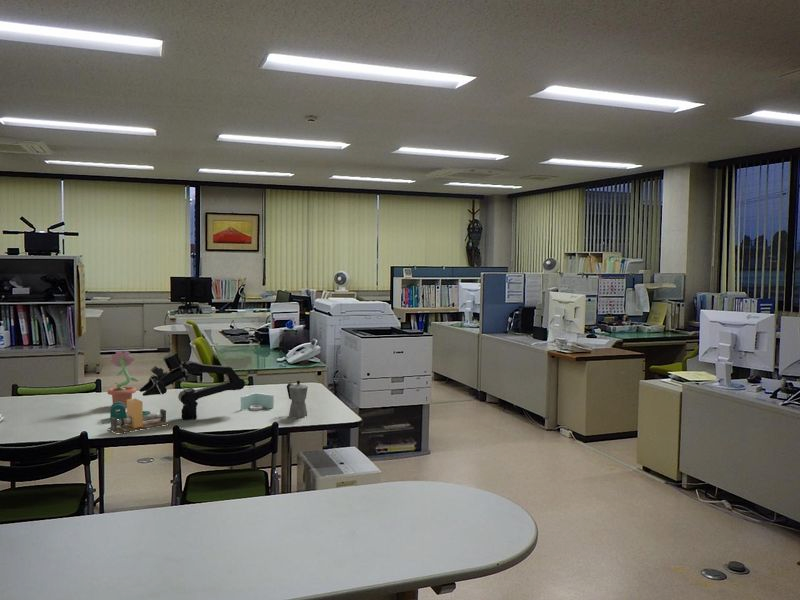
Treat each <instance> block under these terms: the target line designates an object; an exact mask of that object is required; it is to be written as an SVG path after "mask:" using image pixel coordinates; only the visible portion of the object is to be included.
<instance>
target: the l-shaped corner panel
mask: <svg viewBox="0 0 800 600" xmlns="http://www.w3.org/2000/svg"><path fill="white" fill-rule="evenodd" d="M274 397H275V395H273V394H268V393H261V392H253V393H249V394H247V395H243V396H241V397H240V411H244V410H247V409H249V410H250V411H254V412H255V411H262V410H263V408H267V409H274V405H275V399H274Z"/></svg>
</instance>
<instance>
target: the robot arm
mask: <svg viewBox="0 0 800 600" xmlns="http://www.w3.org/2000/svg"><path fill="white" fill-rule="evenodd" d="M162 359H163V361H164V363H165V365H166V367H167V369H168V370H169V369H170V371H165V370H164V369H163V368H162V367H160V368H159V367H157V365H154V366H153V367H152V368H151V369H150V372H152V373H153V374H152V375H150V376H149V378H148V381H147V382H146V383H145V384H144V385H143V386H142V387H141V388H140V389H138V391H139V392H140V393H142V396H143V397H146V396H156V395H164V394H166V393H167V390H168V389H167V388H166V387H169V386H170V385H172V386H173V385H174V384H175V383H176V382H178V381H181V380H182V379H184V381H186V382H188V380H189V377H190V375H197V374H202V373H203V374H204V373H205V374H206V373H207V374H221V375H226V377H227V378H228V379H227V380H225V381H224V382H221V383H218V384H213V385H210V386H207V387H202V388H199V389H194V387H189V388H183V390H182V391H180V392H179V393H178V396H177V399H178V400H179V401H180V402H181V403H182V404H183V405H182V408H181V419H183V420H182V421H186V420H188V421H189V420H197V418H198V414H197V413H198V412H197V411H198V409H197V406H198V402H197V400H198V401H199V399H201V398H205V397H209V396H212V395H215V394H219V393H223V392H226V391H240V390H242V389H244V388H245V385H246V381H245V380H244V379H243V378H242V377H240V376H238V374H237V373H236V372H235V371H234V369H233V367H231V366H229V365H226V366H225V365H216V364H204V363H200V362H197V361H194V360H193V361H192V360H188V361H181V359H180V357H179V354H178V352H174V353H170V354H166V355H165V356H164V357H163V358H162ZM182 368H183V369H182ZM164 371H165V372H164ZM187 373H188V374H187Z"/></svg>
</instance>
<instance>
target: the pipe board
mask: <svg viewBox="0 0 800 600" xmlns="http://www.w3.org/2000/svg"><path fill="white" fill-rule="evenodd" d="M131 423H132V417H130V418H124V419H123V418H121V419H119V420H117V419H116V418H114V417H112V418H111V421H110V427H108V429H110V430H111V431H113V432H115V433H124V432H129V433H131V432H130V431H135V430H140V429H145V430H148V429H147V428H151V429H153V428H152V427H156V426H161V427H163V426H162V425H167V424H169V425H170V423H169V422H167V410H166V409H164V408H160V410H159V412H155V413H150V414H148V415H143V427H138V428H133V427H131V426H129V425H127V424H131ZM167 426H168V425H167ZM156 428H157V427H156ZM108 429H107V430H108ZM111 431H110V432H111ZM140 431H141V430H140ZM113 432H112V433H113ZM135 432H136V431H135ZM115 433H114V434H115ZM124 434H125V433H124Z"/></svg>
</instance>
